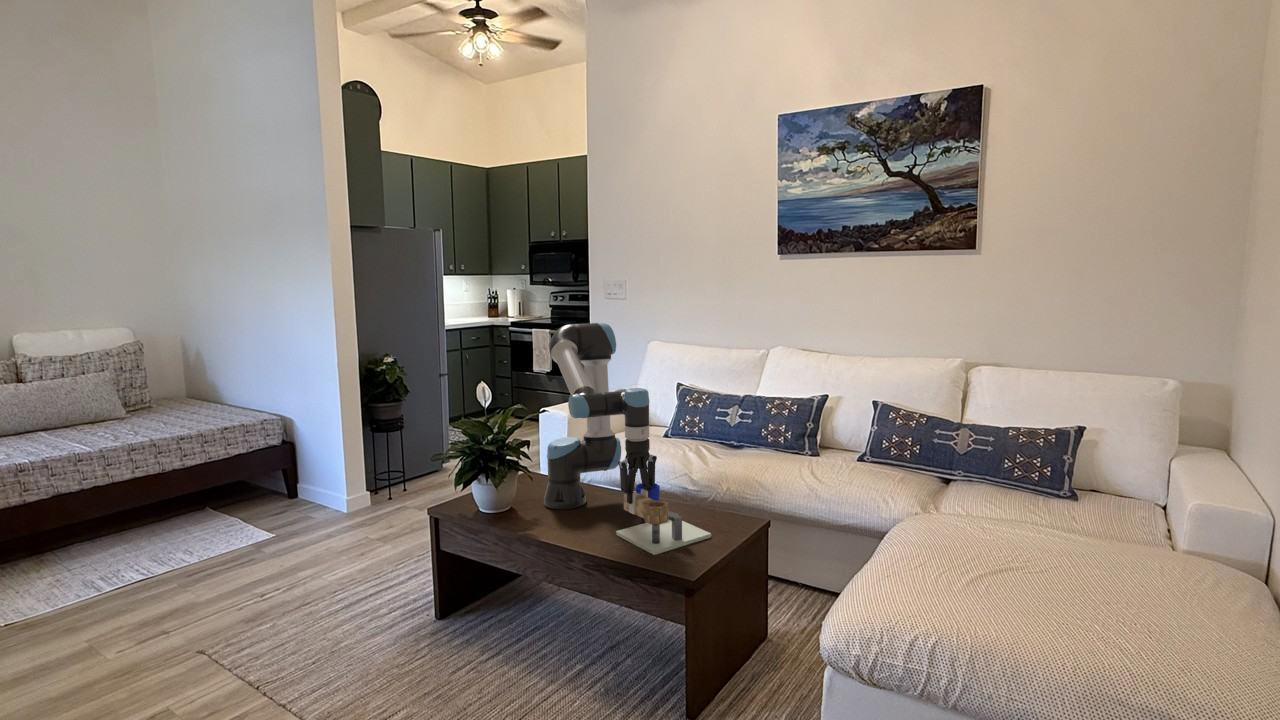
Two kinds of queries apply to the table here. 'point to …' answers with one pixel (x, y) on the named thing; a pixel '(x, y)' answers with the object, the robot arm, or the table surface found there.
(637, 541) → the board
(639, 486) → the mug
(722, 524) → the table surface
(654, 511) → the link
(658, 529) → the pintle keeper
